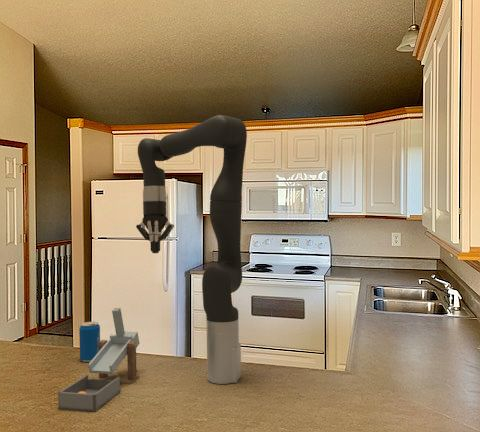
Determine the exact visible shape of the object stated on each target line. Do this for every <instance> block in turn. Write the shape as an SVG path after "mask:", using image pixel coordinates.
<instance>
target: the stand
mask: <svg viewBox="0 0 480 432" xmlns="http://www.w3.org/2000/svg"><path fill="white" fill-rule="evenodd" d="M107 341H108V339H107V340H106V339H100V342H98V350H99V351H100V350H101V349H102V347H103V346H104V345H105V344H106V343H107ZM137 348H138V346H137V344H136V341H130V342H129V343H127V355H126V357H127V358H126V361H127V374H114V373H113V374H101V373H98V377H97V379H100V380H114V379H116V378H117V377H120V384H127V385H128V384H129V385H133V384H134V383H135V382H136V381H137V380H138V379H140V376H139V375H137Z"/></svg>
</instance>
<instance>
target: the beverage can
mask: <svg viewBox="0 0 480 432" xmlns="http://www.w3.org/2000/svg"><path fill="white" fill-rule="evenodd" d="M100 341H101V326H100V324H99V322H98V321H86V322H82V323H80V326H79V360H80V361H82V362H83V363H90V362H91V360H92V359H93V358H94V357H95V356H96V354H97V353H98V352H99V350H98V342H100Z"/></svg>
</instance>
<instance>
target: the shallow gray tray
mask: <svg viewBox="0 0 480 432" xmlns="http://www.w3.org/2000/svg"><path fill="white" fill-rule="evenodd" d="M81 391H84V392H86V393H87V394H84V393H78V392H81ZM120 393H121V383H120V377H117V378H116V379H114V380H100V379H98V378H89V374H86V375H84V376H82V377H81V378H79V379H78V380H75V381H74V382H73V383H71V384H69V385H67V386H66V387H65V388H63V389H62V390H60V391H58V392H57V394H58V395H57V399H58V400H57V401H58V404H57V405H58V406H57V407H58V410H70V411H80V412H83V411H84V412H94V413H95V412H97V411H98V410H99V409H101V408H102V407H103V406H104V405H106V404H107V403H108V402H109V401H111V400H112V399H113V398H115V397H116V396H117V395H118V394H120Z"/></svg>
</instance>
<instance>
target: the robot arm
mask: <svg viewBox="0 0 480 432" xmlns="http://www.w3.org/2000/svg"><path fill="white" fill-rule="evenodd" d="M247 137H248V133H247V126H246V124H245V122H244V121H243V120H242V119H240V118H237V117H234V116H228V115H224V114H218V115H215V116H212V117H210V118H208V119H205V120H204V121H202V122H200V123H198V124H197V125H195V126H192V127H190V128H187V129H185V130H181V131H176V132H173V133H169V134H167V135H165V136H163V137H162V138H161V139H155V138H154V139H153V138H148V137H147V138H143V139H141V140H140V141H139V143H138V145H137V157H138V160H139V164H140V168H141V170H142V174H143V175H142V177H143V182H142V183H143V189H142V211H143V212H142V214H143V217H142V220H141V222H140V223H139V224H136V226H135V228H136V229H137V230H138V232H139V234H141V236H142V237H143V238H144V239H145V241H149V243H150V252H151V253H152V254H159V252H161V242H162V241H163V240H166V239H167V238H168V237H169V234H170V233H171V232H172V230H173V229H174V228H175V224H173V223H171V222H169V218H168V217H167V190H166V172H165V170H164V169H163V168H161V167H158V166H157V164H156V162H164V161H165V162H166V161H168V160H170V159H172V158H173V157H176V156H177V157H178V156H182V155H183V156H184V155H186V154H189V153H191V152H192V151H194V150H195V149H196V148H200V147H216V148H218V149H223V162H222V167H221V170H220V173H219V175H218V176H217V179H216V181H215V183H214V185H213V186H212V189H211V192H210V197H209V219H210V220H209V221H210V224H211V227H212V230H213V232H214V236H215V239H216V242H217V261H216V264H212V265H211V264H210V266H208V267H207V268H206V269H204V271H203V274H202V279H201V280H202V281H201V290H202V304H203V310H204V312H205V314H206V315H205V316H206V318H205V319H206V366H207V367H206V370H207V371H206V374H207V375H206V376H207V378H206V379H207V381H208V382H210V383H213V384H217V385H218V384H219V385H226V384H235V383H236V384H237V383H238V382H239V380H240V378H241V377H242V351H241V350H242V347H241V345H242V344H241V343H240V339H239V337H240V334H239V331H240V330H239V329H240V328H239V309H238V308H237V307H235V306H234V304H233V301H232V293H235V292H236V291H237V290H239V289H240V286H241V285H242V282H243V268H242V266H243V265H242V254H241V253H242V251H241V235H242V214H243V213H242V212H243V211H242V210H243V177H244V176H243V175H244V162H245V156H246V147H247V141H248V140H247ZM164 228H165V229H164ZM146 229H147V230H146ZM163 230H164V231H163Z"/></svg>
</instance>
